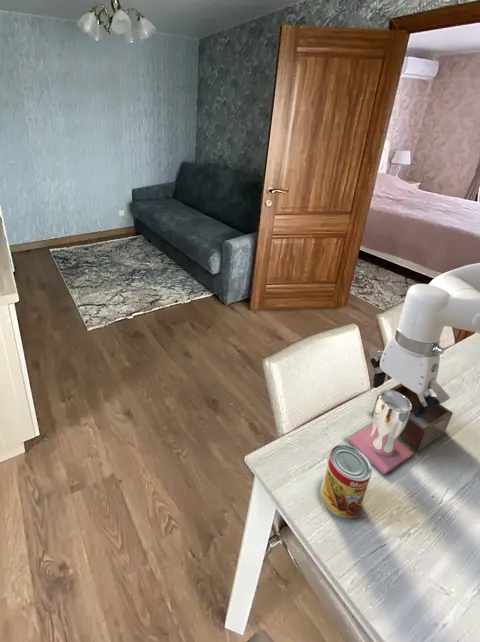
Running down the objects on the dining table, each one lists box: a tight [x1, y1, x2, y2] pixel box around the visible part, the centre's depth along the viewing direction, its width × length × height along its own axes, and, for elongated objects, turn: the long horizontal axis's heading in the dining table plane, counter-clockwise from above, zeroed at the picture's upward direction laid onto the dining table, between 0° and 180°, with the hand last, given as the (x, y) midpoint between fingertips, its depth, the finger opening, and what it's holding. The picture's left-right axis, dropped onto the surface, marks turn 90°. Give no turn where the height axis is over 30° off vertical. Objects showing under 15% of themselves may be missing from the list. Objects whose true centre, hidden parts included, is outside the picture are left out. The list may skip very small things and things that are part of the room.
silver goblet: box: [367, 389, 412, 456], centre depth 84 cm, size 7×7×15 cm
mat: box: [347, 423, 414, 476], centre depth 87 cm, size 11×10×1 cm
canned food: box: [320, 443, 373, 519], centre depth 73 cm, size 8×8×12 cm
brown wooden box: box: [371, 383, 454, 452], centre depth 93 cm, size 12×12×7 cm
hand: (397, 399), depth 81 cm, fingers open, 9 cm apart
